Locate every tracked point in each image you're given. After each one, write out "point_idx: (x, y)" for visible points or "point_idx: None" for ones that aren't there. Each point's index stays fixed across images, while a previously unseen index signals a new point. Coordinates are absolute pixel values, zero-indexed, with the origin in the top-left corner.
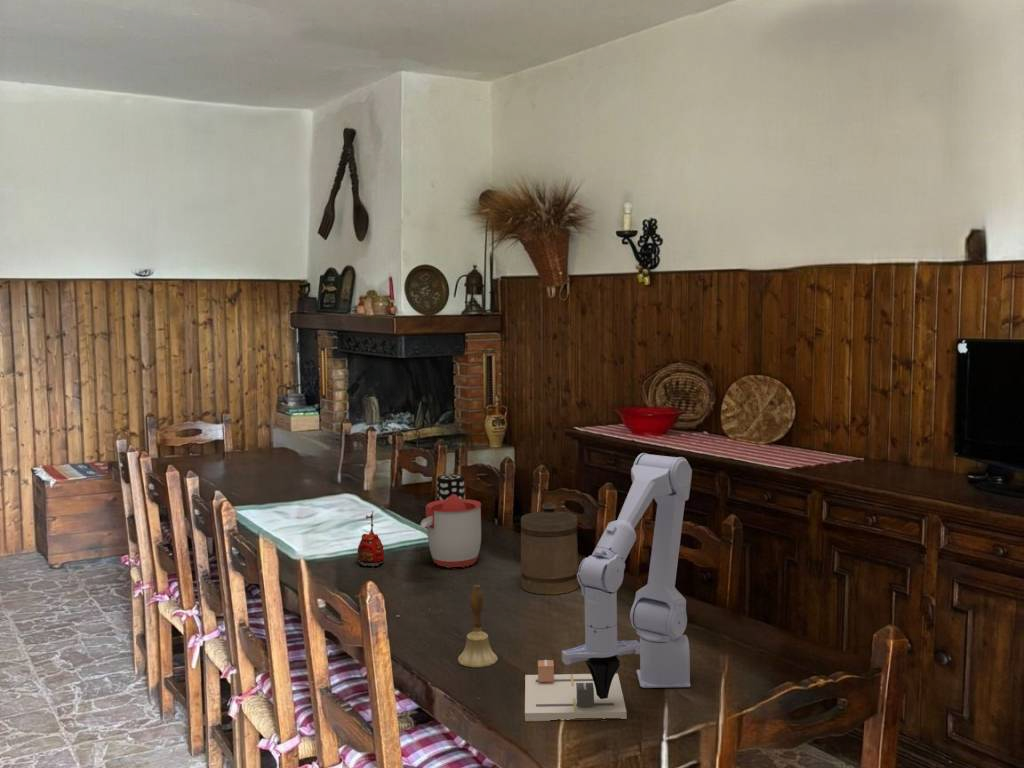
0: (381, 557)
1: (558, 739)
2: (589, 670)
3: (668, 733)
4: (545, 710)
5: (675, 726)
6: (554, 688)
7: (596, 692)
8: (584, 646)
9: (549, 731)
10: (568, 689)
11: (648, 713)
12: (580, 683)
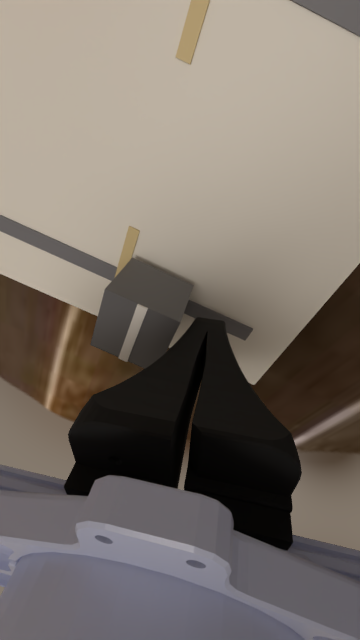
0: None
1: (55, 360)
2: (142, 371)
3: (296, 448)
4: (17, 265)
5: (340, 439)
6: (76, 52)
7: (193, 322)
8: (9, 557)
9: (39, 322)
10: (143, 106)
11: (341, 368)
12: (123, 302)
